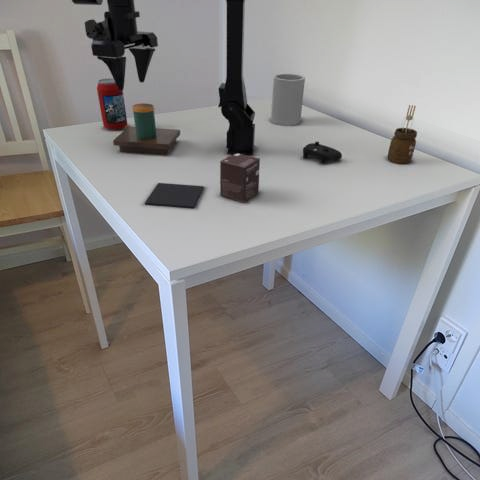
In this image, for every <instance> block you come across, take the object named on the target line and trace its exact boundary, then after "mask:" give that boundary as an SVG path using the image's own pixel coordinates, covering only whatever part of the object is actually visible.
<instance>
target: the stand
mask: <svg viewBox="0 0 480 480" xmlns="http://www.w3.org/2000/svg"><path fill="white" fill-rule="evenodd" d="M156 135H157V136H156V137H155V138H152V139H140V138H137V136H136V129H135V126H130V125H129V126H128V127H126V128H124V130H123V131H122V132H121V133H120V134H119V135H117V136H116V138H114V139H113V140H112V142H113V146H115V147H116V146H117V147H119V152H120V153H132V154H144V155H145V154H148V155H160V156H161V155H163V156H168V154H169V152H170V151H171V150H172V149H173V147H174V146H175V145H176V143H177V139H178V138H179V137H180V135H181V129H176V128H161V127H160V128H159V127H156Z"/></svg>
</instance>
